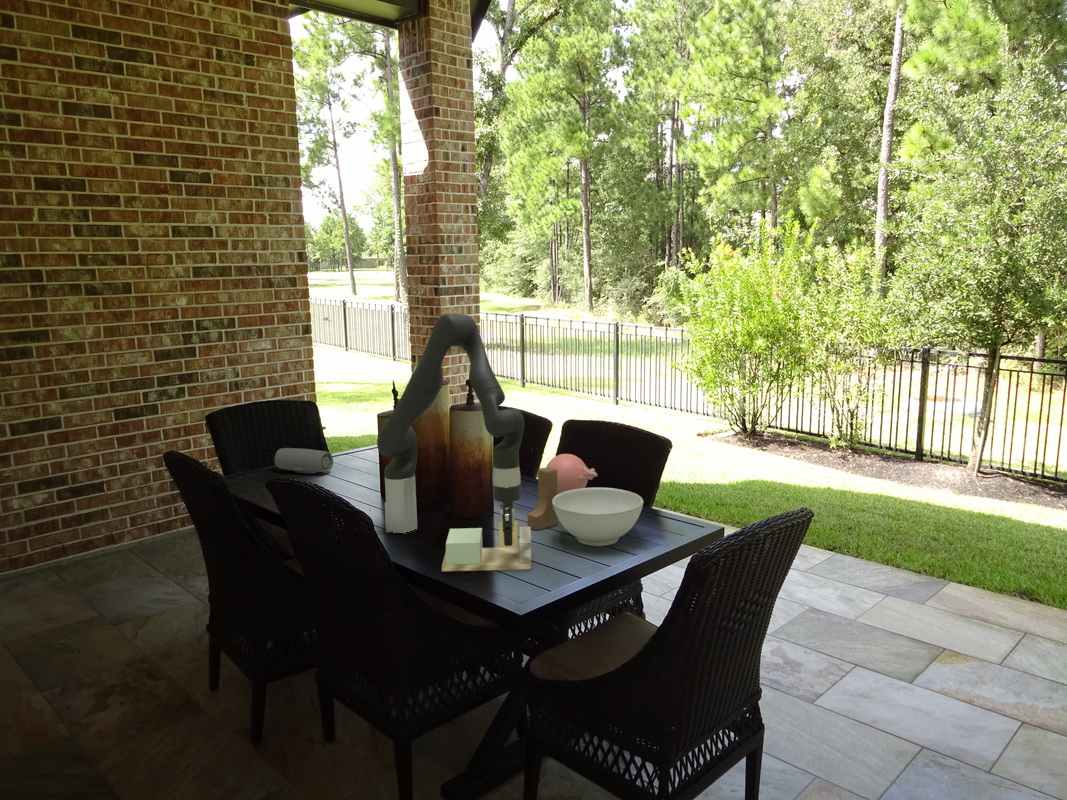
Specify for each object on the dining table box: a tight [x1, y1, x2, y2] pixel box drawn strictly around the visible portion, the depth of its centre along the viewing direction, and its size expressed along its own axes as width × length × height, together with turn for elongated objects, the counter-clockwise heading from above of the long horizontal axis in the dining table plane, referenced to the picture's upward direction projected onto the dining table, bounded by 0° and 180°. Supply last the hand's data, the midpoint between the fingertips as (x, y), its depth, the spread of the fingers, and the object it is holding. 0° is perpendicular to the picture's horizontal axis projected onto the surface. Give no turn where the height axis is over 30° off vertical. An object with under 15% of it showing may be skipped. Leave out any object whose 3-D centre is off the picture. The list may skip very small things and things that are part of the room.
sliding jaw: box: [445, 527, 484, 565], centre depth 214 cm, size 9×12×6 cm
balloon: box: [545, 453, 598, 494], centre depth 272 cm, size 15×20×15 cm
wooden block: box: [527, 467, 559, 531], centre depth 242 cm, size 9×4×18 cm, turn 128°
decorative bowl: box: [552, 487, 644, 547], centre depth 230 cm, size 27×27×12 cm
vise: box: [441, 526, 532, 572], centre depth 214 cm, size 24×13×8 cm, turn 91°
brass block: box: [498, 521, 519, 548], centre depth 213 cm, size 5×4×6 cm
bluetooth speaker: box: [274, 447, 334, 473], centre depth 315 cm, size 23×9×10 cm, turn 69°
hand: (508, 542), depth 214 cm, fingers closed on brass block, 4 cm apart
